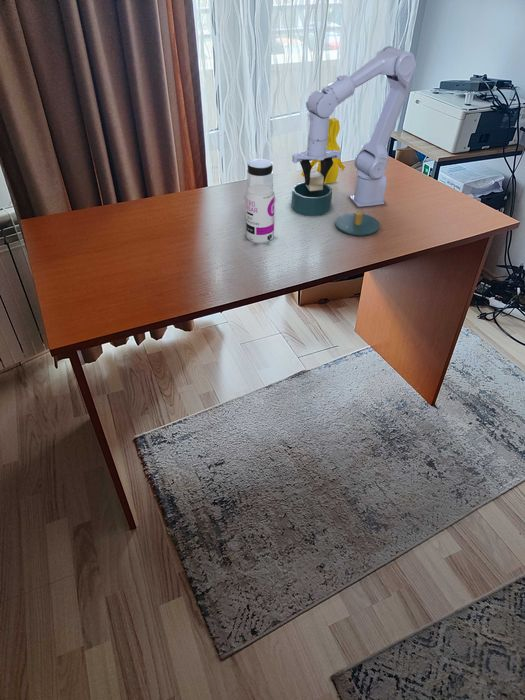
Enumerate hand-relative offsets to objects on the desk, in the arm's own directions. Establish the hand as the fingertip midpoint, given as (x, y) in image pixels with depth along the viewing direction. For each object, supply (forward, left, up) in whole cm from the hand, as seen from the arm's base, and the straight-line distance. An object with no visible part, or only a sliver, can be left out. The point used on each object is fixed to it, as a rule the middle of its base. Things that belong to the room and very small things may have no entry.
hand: (314, 183), depth 147 cm
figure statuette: (-12, -22, -10) cm, 27 cm away
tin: (-1, -4, -10) cm, 11 cm away
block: (0, 0, -1) cm, 1 cm away
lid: (-11, +12, -9) cm, 19 cm away
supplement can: (+20, +12, -10) cm, 25 cm away
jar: (+14, -14, -10) cm, 22 cm away
